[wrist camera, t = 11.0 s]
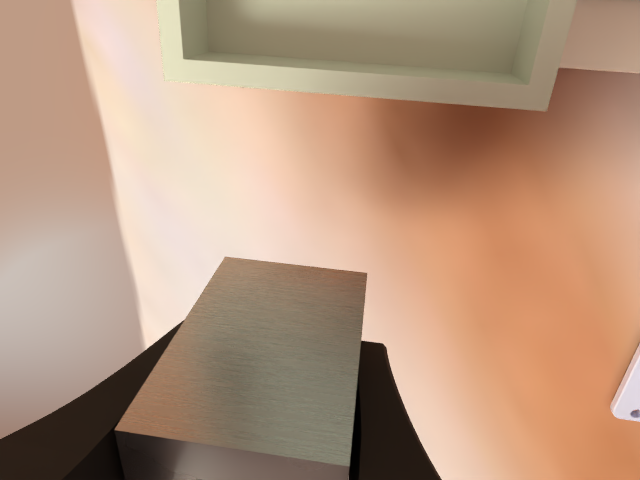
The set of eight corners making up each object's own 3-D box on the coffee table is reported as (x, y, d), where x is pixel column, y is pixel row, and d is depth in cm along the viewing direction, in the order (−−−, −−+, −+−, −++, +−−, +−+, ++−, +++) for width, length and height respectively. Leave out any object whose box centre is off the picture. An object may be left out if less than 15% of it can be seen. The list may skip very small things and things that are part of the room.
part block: (367, 272, 13) (349, 466, 8) (354, 381, 15) (333, 597, 9) (225, 256, 13) (114, 429, 8) (230, 364, 15) (143, 563, 10)
